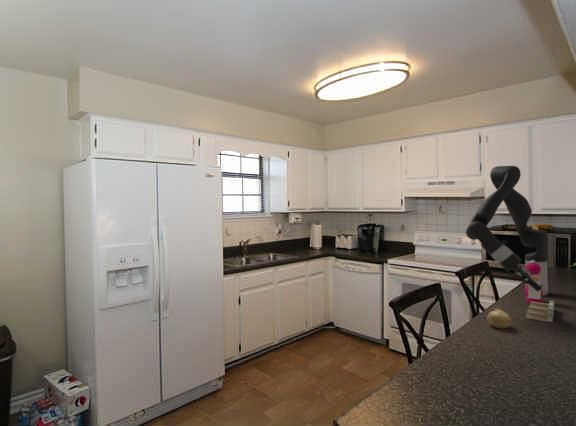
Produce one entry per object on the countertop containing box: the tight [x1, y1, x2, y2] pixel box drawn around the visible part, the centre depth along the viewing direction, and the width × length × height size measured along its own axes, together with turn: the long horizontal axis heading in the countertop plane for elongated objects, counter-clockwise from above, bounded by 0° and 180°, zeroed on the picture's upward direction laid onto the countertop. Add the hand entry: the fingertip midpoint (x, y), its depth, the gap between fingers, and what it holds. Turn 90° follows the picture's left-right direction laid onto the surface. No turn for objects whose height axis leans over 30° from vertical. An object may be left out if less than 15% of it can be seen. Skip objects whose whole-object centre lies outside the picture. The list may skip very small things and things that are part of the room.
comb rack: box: [525, 300, 555, 323], centre depth 146 cm, size 18×8×4 cm, turn 140°
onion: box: [486, 307, 512, 330], centre depth 133 cm, size 8×8×7 cm
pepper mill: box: [524, 260, 543, 303], centre depth 163 cm, size 7×7×20 cm
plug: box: [528, 275, 542, 299], centre depth 143 cm, size 4×4×9 cm
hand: (540, 288), depth 142 cm, fingers closed on plug, 4 cm apart
